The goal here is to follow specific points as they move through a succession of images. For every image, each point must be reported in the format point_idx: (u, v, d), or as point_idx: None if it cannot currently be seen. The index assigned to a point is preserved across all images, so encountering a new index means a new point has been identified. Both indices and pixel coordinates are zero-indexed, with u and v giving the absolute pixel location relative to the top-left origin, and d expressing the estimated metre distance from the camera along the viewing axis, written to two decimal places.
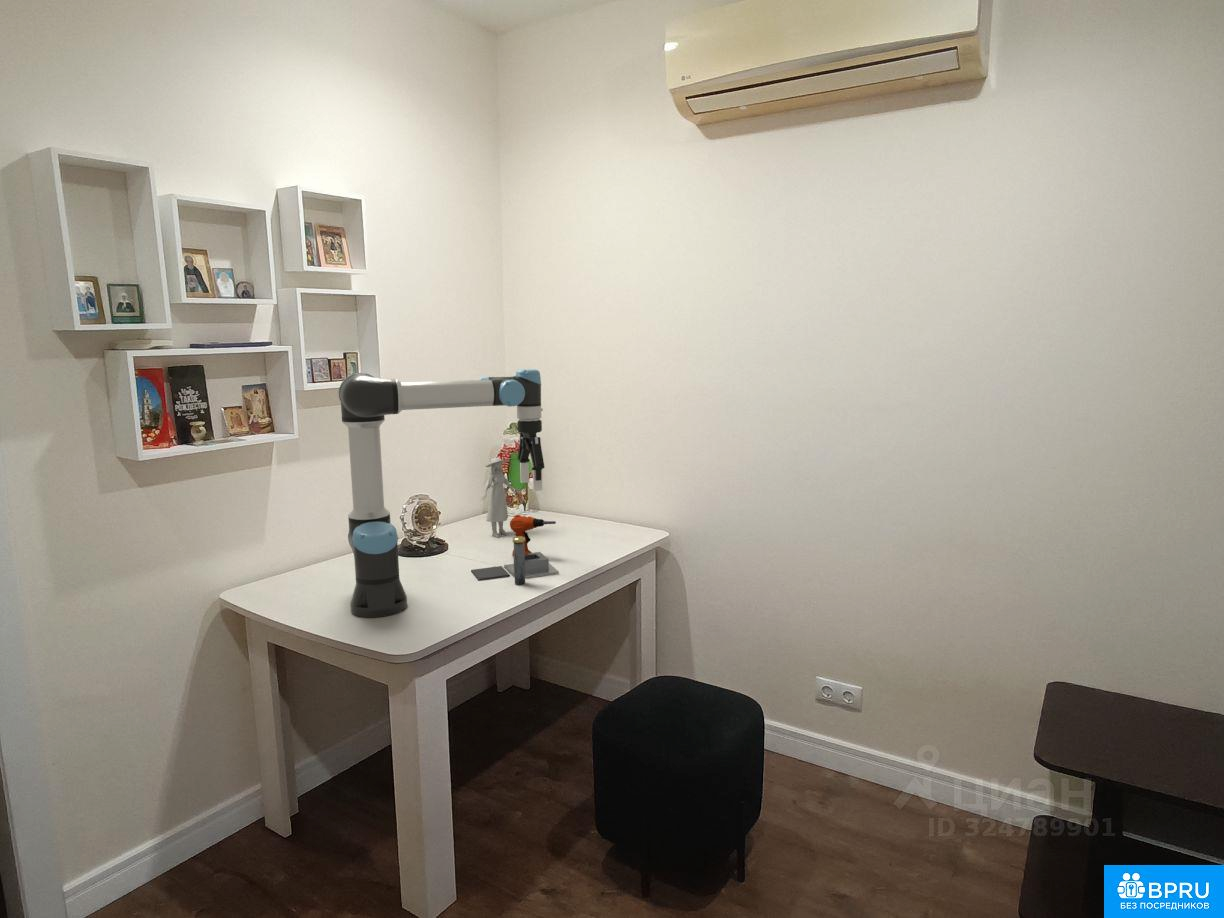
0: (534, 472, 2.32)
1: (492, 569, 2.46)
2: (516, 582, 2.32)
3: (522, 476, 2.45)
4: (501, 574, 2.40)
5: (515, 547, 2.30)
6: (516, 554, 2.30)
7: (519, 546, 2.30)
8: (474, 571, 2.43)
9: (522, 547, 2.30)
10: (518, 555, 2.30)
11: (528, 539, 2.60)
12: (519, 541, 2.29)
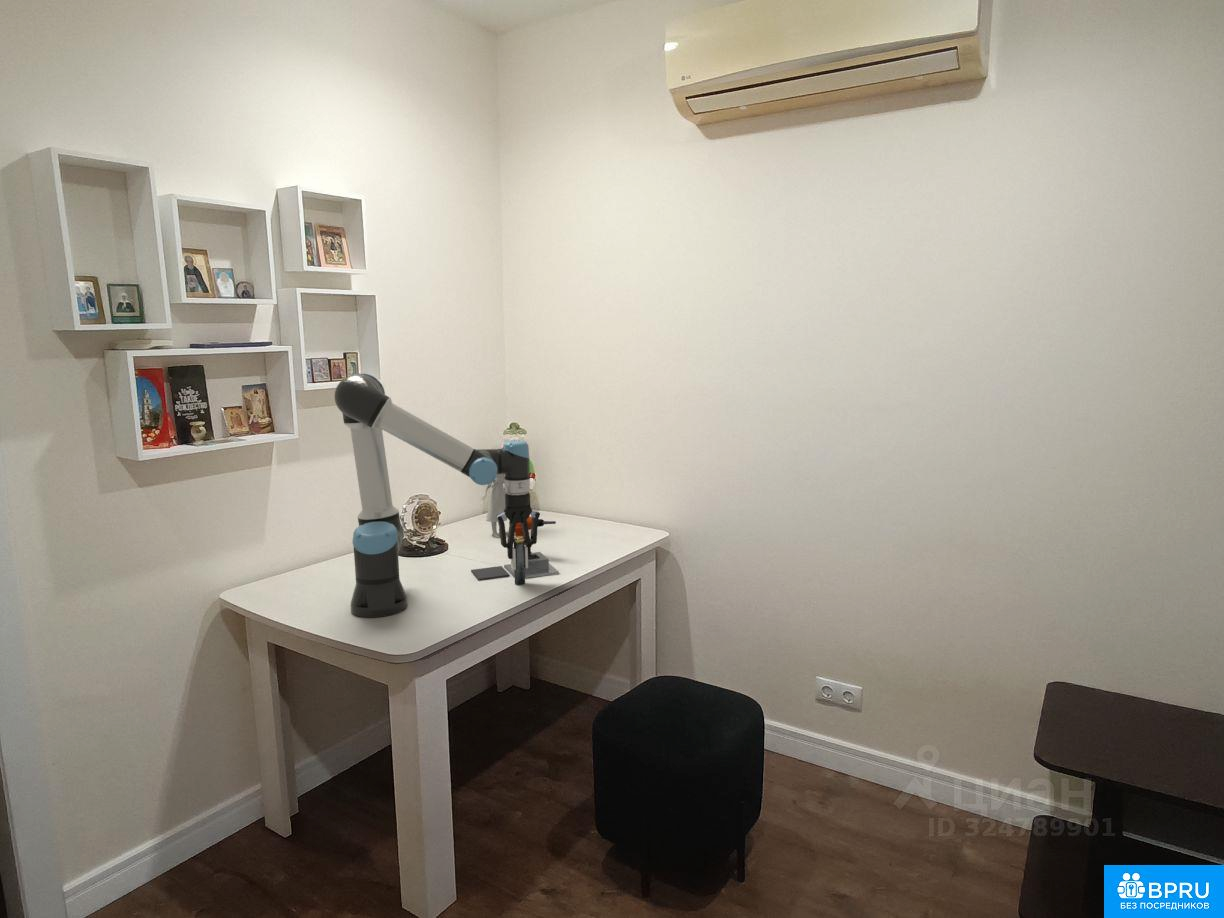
0: None
1: (492, 569, 2.46)
2: (516, 582, 2.32)
3: None
4: (501, 574, 2.40)
5: (515, 547, 2.30)
6: (516, 554, 2.30)
7: (519, 546, 2.30)
8: (474, 571, 2.43)
9: (522, 547, 2.30)
10: (518, 555, 2.30)
11: None
12: (519, 541, 2.29)
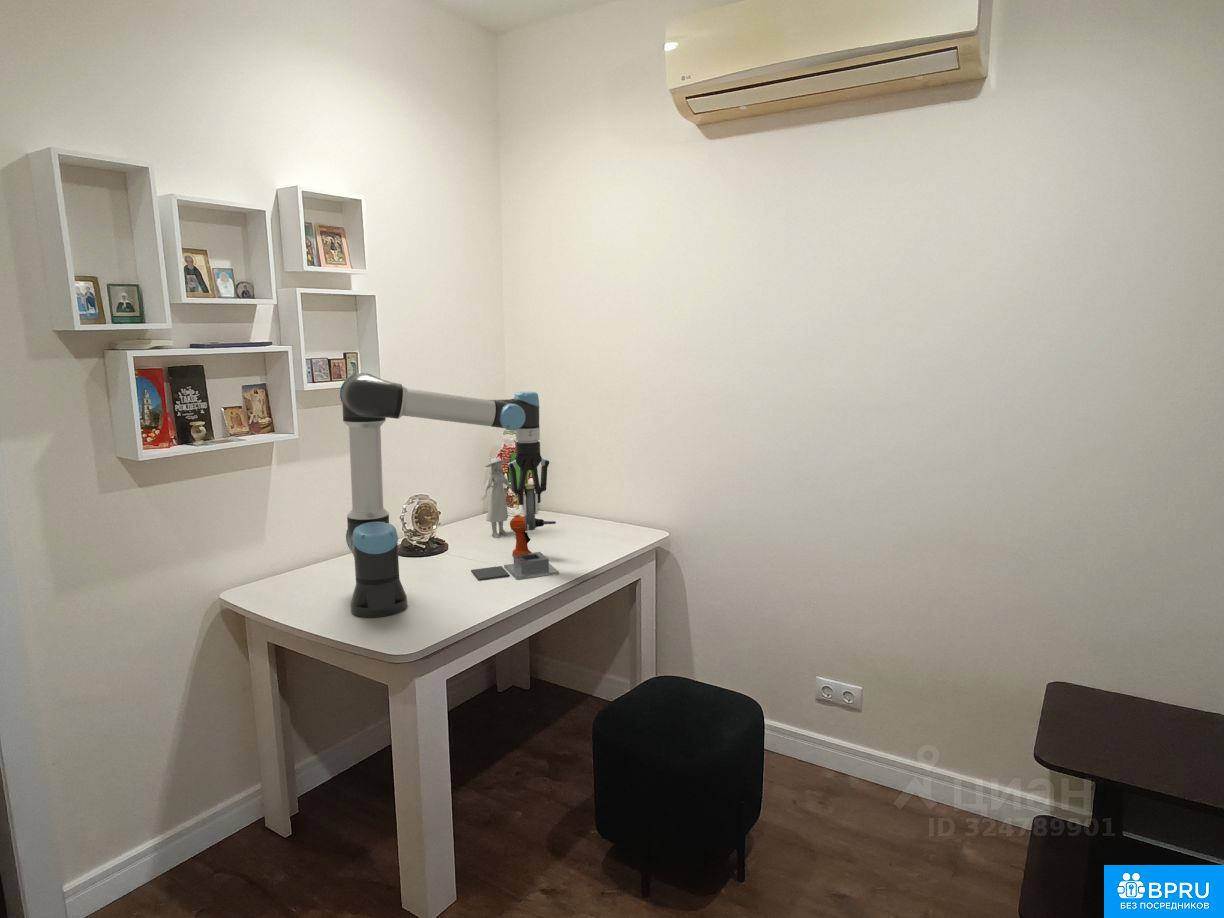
0: None
1: (492, 569, 2.46)
2: (527, 527, 2.42)
3: None
4: (501, 574, 2.40)
5: (526, 493, 2.40)
6: (526, 500, 2.41)
7: (529, 492, 2.40)
8: (474, 571, 2.43)
9: (532, 494, 2.41)
10: (528, 501, 2.41)
11: (528, 539, 2.60)
12: (529, 488, 2.40)
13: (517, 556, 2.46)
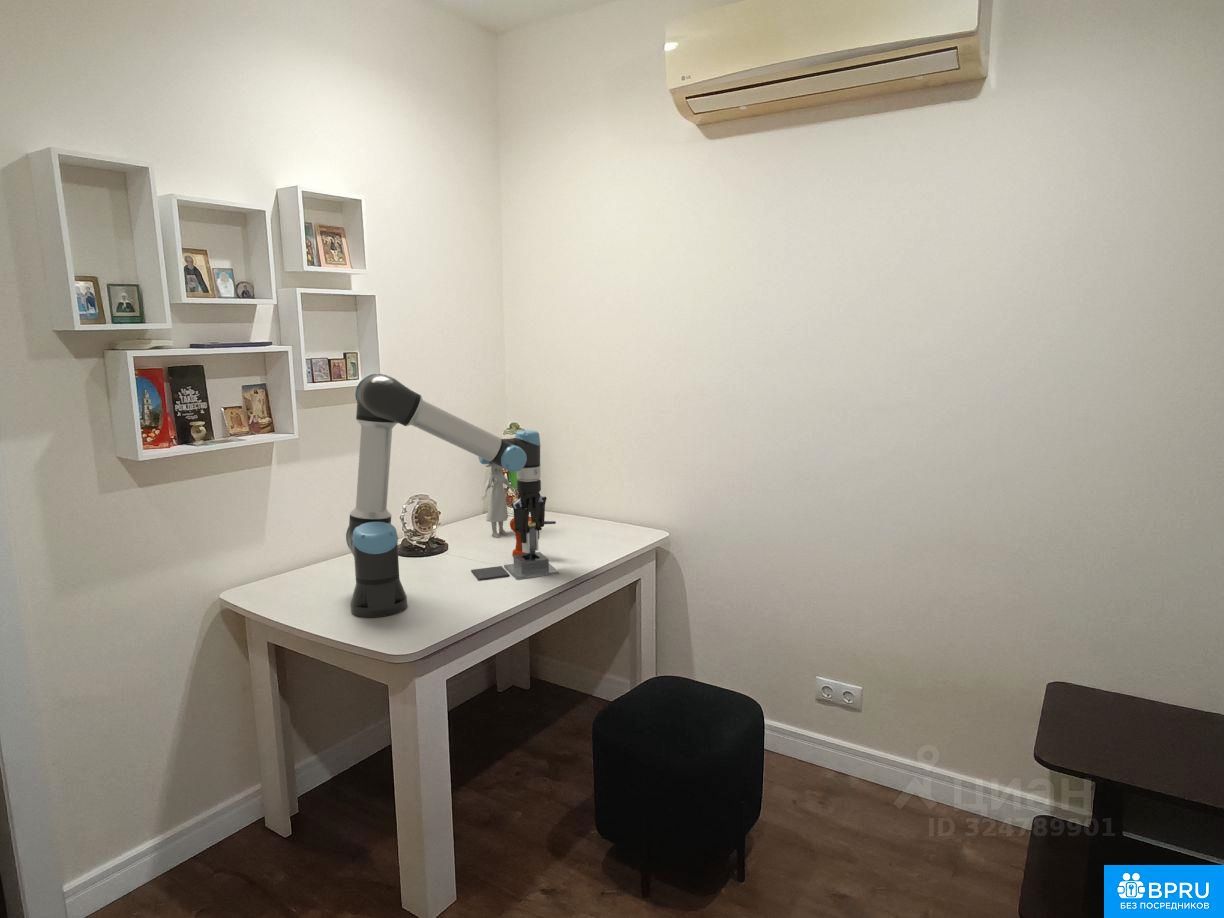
0: None
1: (492, 569, 2.46)
2: None
3: None
4: (501, 574, 2.40)
5: (528, 531, 2.42)
6: None
7: (532, 530, 2.42)
8: (474, 571, 2.43)
9: (534, 531, 2.43)
10: (531, 539, 2.43)
11: None
12: (533, 525, 2.42)
13: (517, 556, 2.46)
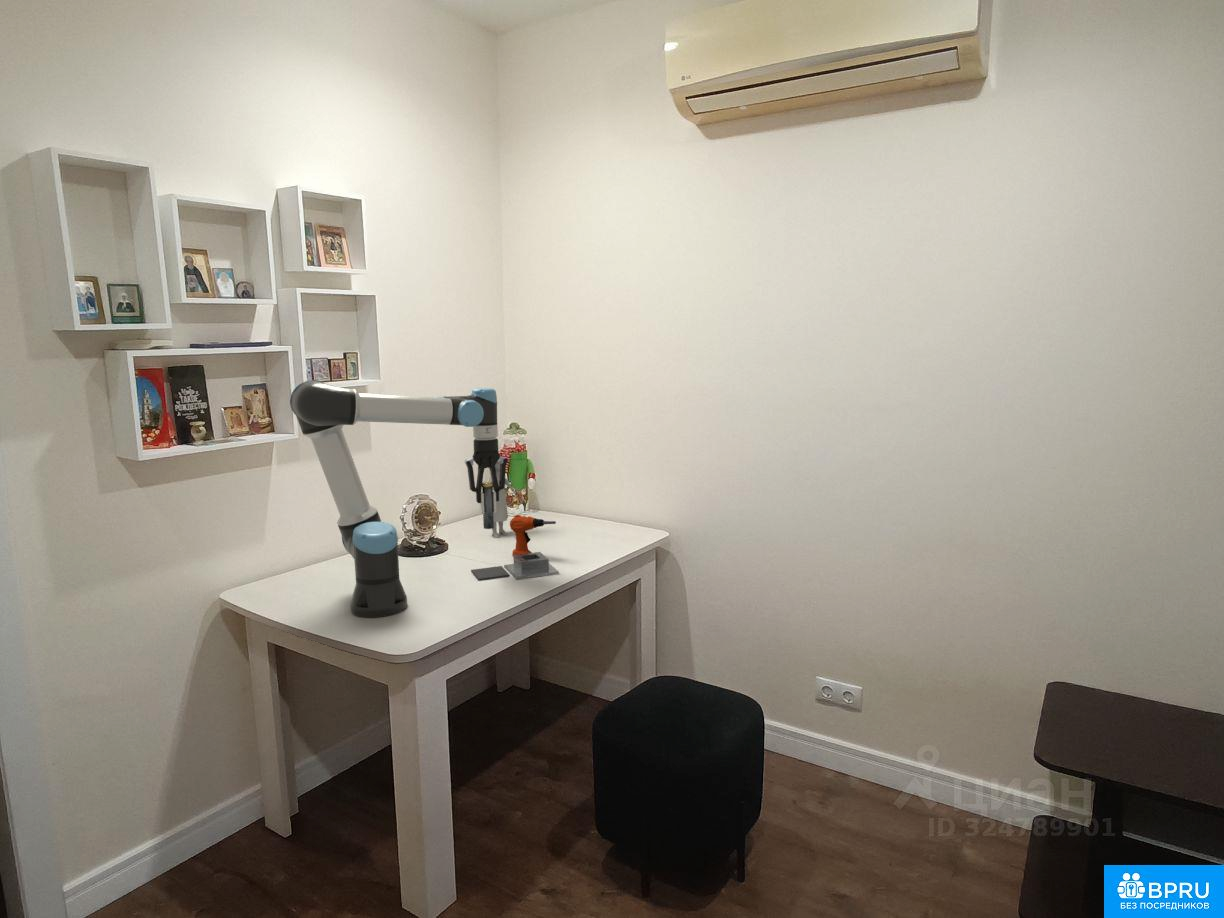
0: None
1: (492, 569, 2.46)
2: (485, 526, 2.39)
3: None
4: (501, 574, 2.40)
5: (483, 491, 2.37)
6: (484, 498, 2.37)
7: (487, 490, 2.37)
8: (474, 571, 2.43)
9: (490, 491, 2.37)
10: (486, 499, 2.37)
11: (528, 539, 2.60)
12: (487, 485, 2.36)
13: (517, 556, 2.46)
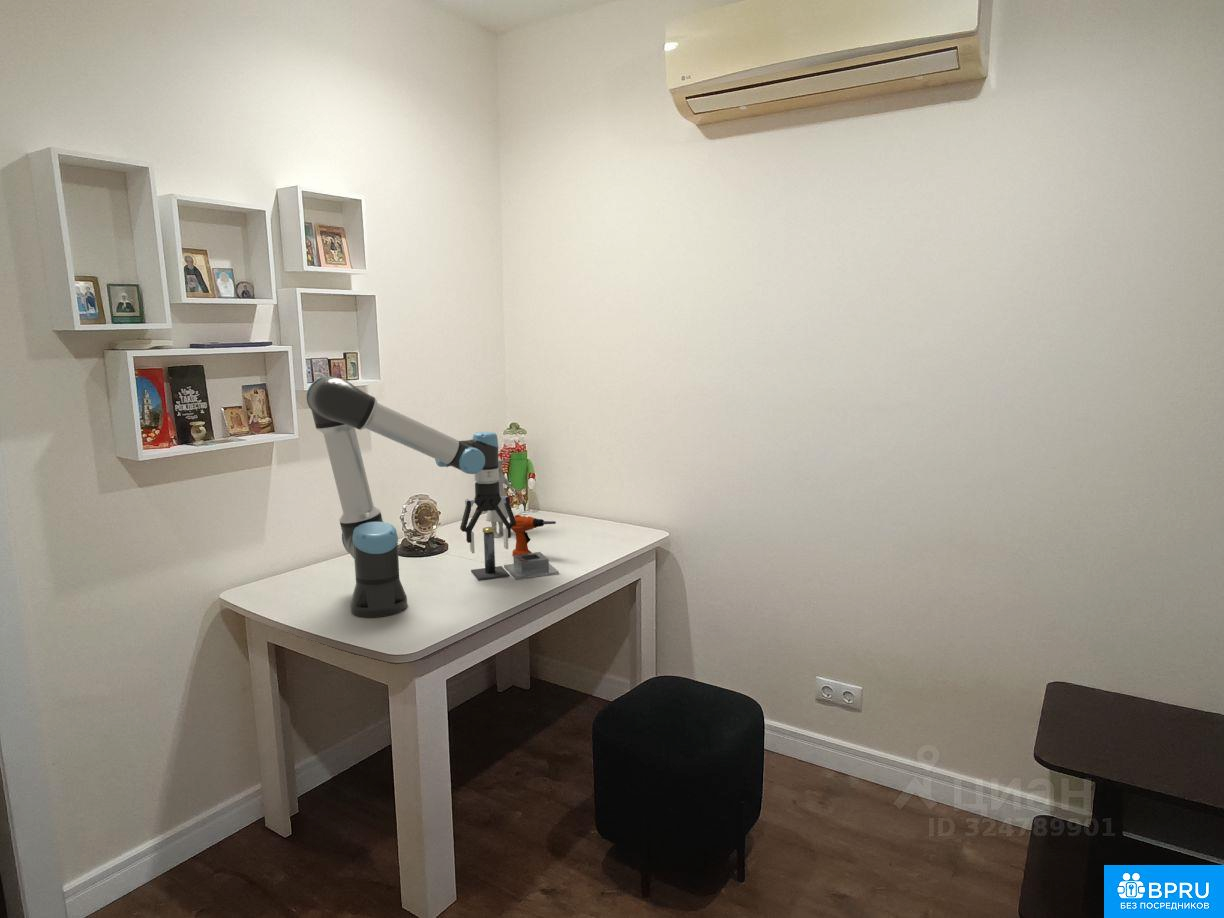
0: None
1: None
2: (486, 571, 2.41)
3: (504, 541, 2.44)
4: (501, 574, 2.40)
5: (485, 537, 2.39)
6: (486, 544, 2.40)
7: (488, 536, 2.39)
8: (474, 571, 2.43)
9: (492, 537, 2.40)
10: (487, 545, 2.39)
11: (528, 539, 2.60)
12: (489, 531, 2.38)
13: (517, 556, 2.46)
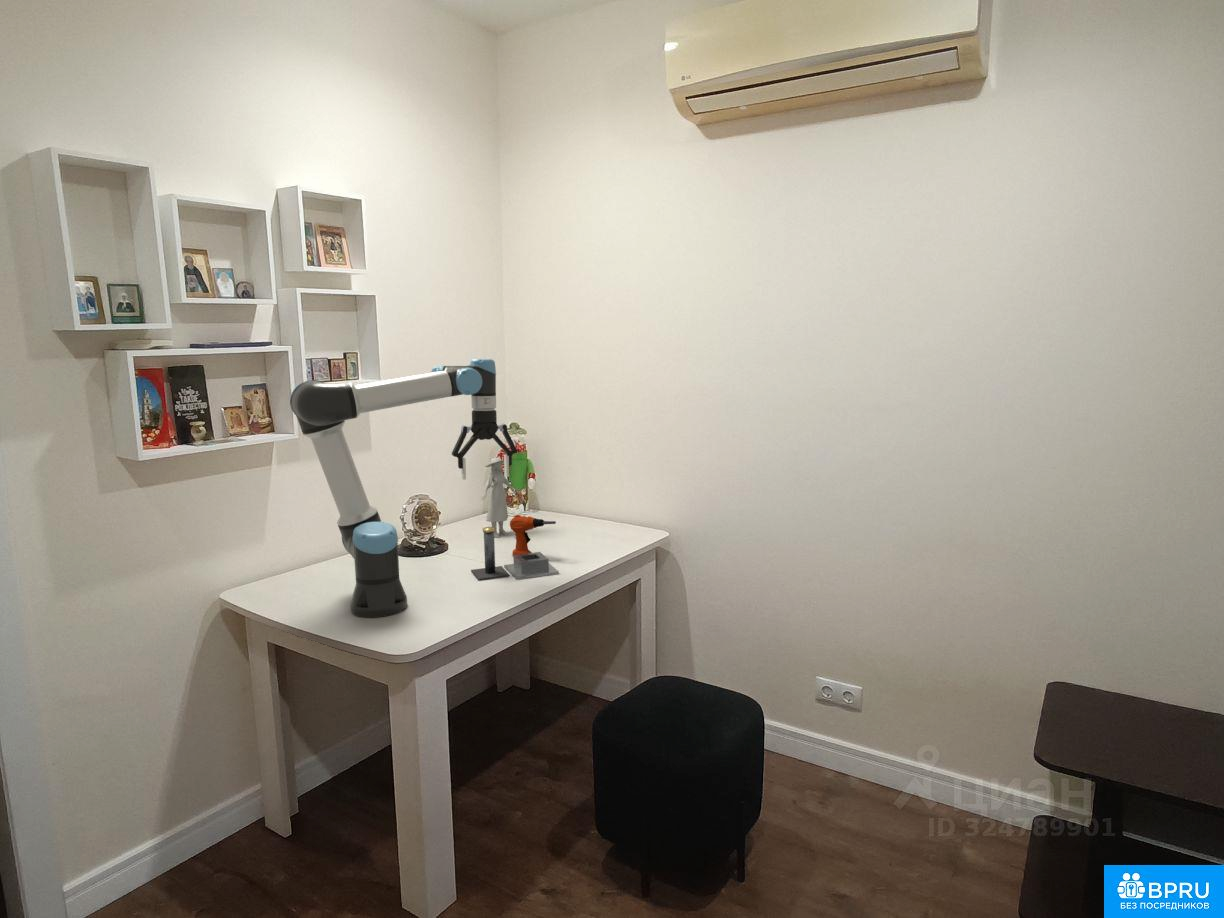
0: None
1: None
2: (486, 571, 2.41)
3: (504, 469, 2.40)
4: (501, 574, 2.40)
5: (485, 537, 2.39)
6: (486, 543, 2.40)
7: (488, 536, 2.39)
8: (474, 571, 2.43)
9: (492, 537, 2.40)
10: (487, 545, 2.39)
11: (528, 539, 2.60)
12: (489, 531, 2.38)
13: (517, 556, 2.46)
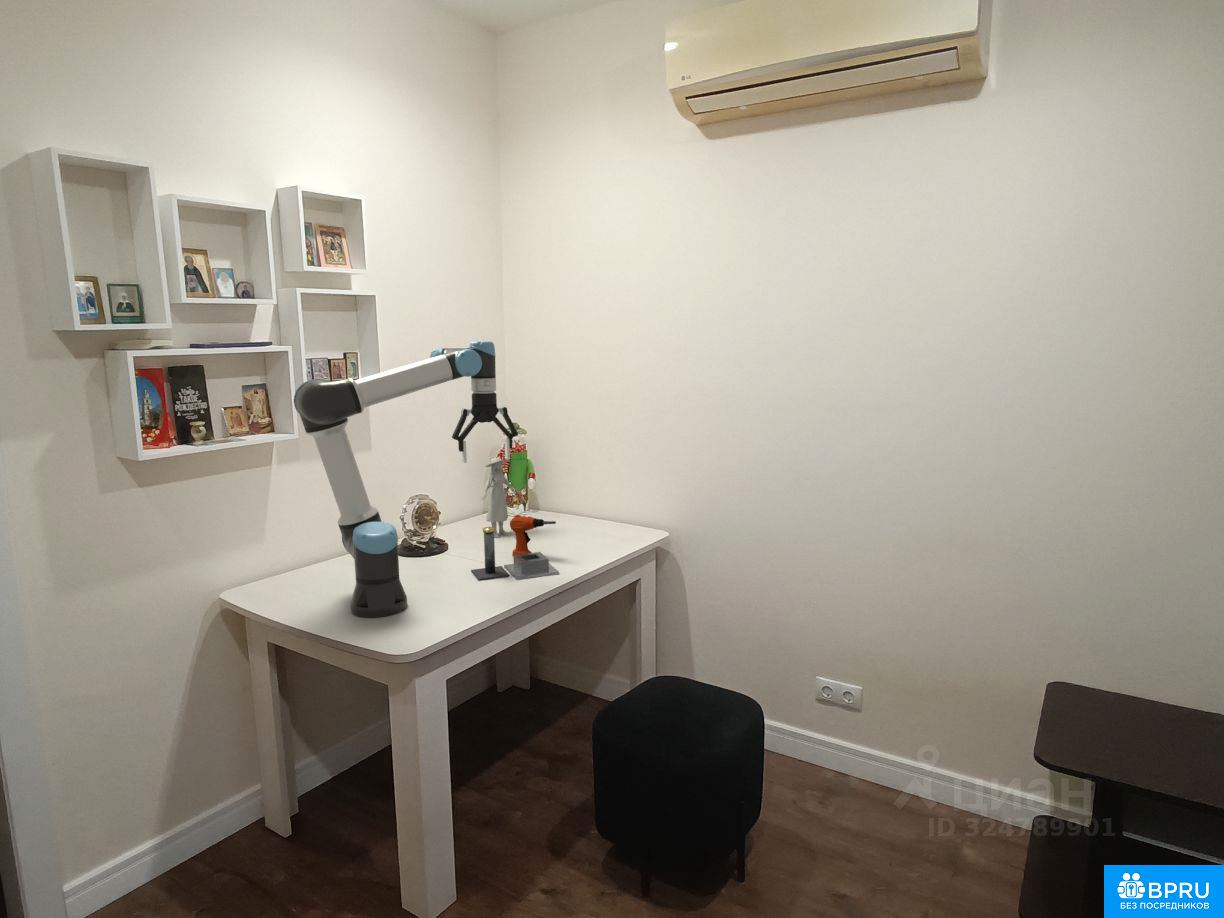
0: None
1: None
2: (486, 571, 2.41)
3: (505, 452, 2.40)
4: (501, 574, 2.40)
5: (485, 537, 2.39)
6: (486, 543, 2.40)
7: (488, 536, 2.39)
8: (474, 571, 2.43)
9: (492, 537, 2.40)
10: (487, 545, 2.39)
11: (528, 539, 2.60)
12: (489, 531, 2.38)
13: (517, 556, 2.46)
